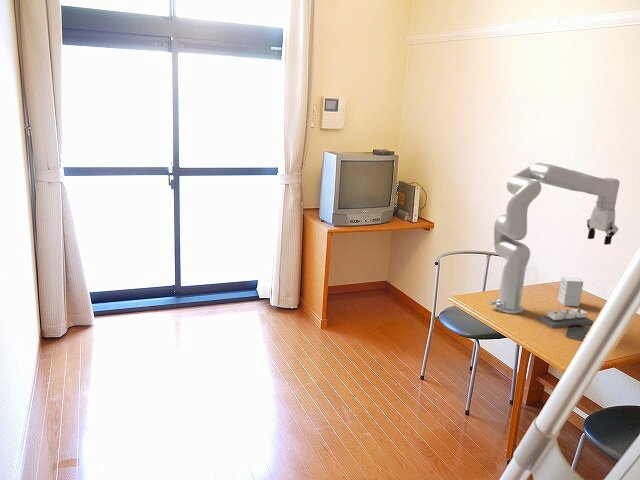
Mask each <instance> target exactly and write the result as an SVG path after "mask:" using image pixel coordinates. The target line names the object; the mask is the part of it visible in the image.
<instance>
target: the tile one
mask: <svg viewBox="0 0 640 480" xmlns="http://www.w3.org/2000/svg"><path fill="white" fill-rule="evenodd" d="M546 316H548V317H550V318H552V319H554V320H559V319H564V314H562V313H560V312H559V310H550V311H549V310H547V313H546Z"/></svg>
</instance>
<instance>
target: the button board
mask: <svg viewBox="0 0 640 480" xmlns="http://www.w3.org/2000/svg"><path fill="white" fill-rule="evenodd" d="M538 321H539V322H542V323H544V324H545V325H546V326H548V327H550V328H551V329H553V328H554V329H555V328H564V327H566V328H567V327H569V326H570V325H577V324H578V325H582V326H586V325H593V323H594V320H593V319H592V318H589V317H588V316H587V317H580V318H577V317H576V316H575V318H570V319H566V318H564V319H559V320H554V319H552V318H550V317H548V316H547V315H546V316H539V319H538Z"/></svg>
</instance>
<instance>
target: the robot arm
mask: <svg viewBox="0 0 640 480" xmlns="http://www.w3.org/2000/svg"><path fill="white" fill-rule="evenodd" d="M620 182H621V181H620V180H619V179H618V178H613V177H603V178H602V177H597V176H594V175H590V174H586V173H583V172H581V171H577V170H573V169H569V168H564V167H561V166H558V165H553V164H548V163H544V162H543V163H542V162H536V163H534V164H533V163H532V164H531V165H529V166H527V167H525V168H523V169H522V170H520V171H519V172H517V173H515V174H514V175H512V176H511V177H510V178H509V179H508V181H507V183H506V189H507V191H508V193H510V194H512V195H513V196H512V197H511V198H510V200H509V201H508V202H507V205H506V209H505V210H506V212H505V214H501V215H499V216H498V217H497V218H496V220H495V221H494V224H493V247H494V251H495V253H496V255H497V256H499V257H501V258H503V259H504V260H506V263H505V264H504V266H503V268H502V271H501V281H500V286H499V287H500V288H499V293H498V297H496V299H495V300H489V301H488V305H490V306H494V308H495V309H496V310H497V311H500V312H502V313H507V314H511V315H512V314H516V315H517V314H521V313H523V312H524V307H523V306H522V305H521V302H522V298H523V297H522V296H523V290H524V282H525V277H526V271H527V266H528V265H529V264H528V263H529V261H530V257H531V251H530V248H529V247H528V246H527V245H526V244H524V243H523V242H520V241H521V240H522V241H523V239H525V238H526V237H527V234H528V209H529V206H530V205H531V203H532V202H533V201H534V200H535V199H536V198H537V197H538V196H539V195H540V194H541V191H542V185H541V184H543V185H544V184H545V185H549V186H552V187H556V188H561V189H564V190H569V191H573V192H581V193H585V194H587V195H588V194H589V195H592V196H593V195H594V196H597V200H596V201H595V204H596V205H595V206H594V207H593V210H592V212H591V216H590V218H588V219H586V226H587V230H588V234H587V239H588V240H593V239H595V235H596V230H598V231H600V232H605V234H606V235H605V236H604V237H605V238H604V242H603V244H604V245H605V246H606V245H608V246H609V245H611V244H612V238H613V237H614V236H615V235H616V234H617V232H618V231H619V228H618V226H617V225H616V224H615V221H616V205H617V199H618V194H619V188H620V184H621V183H620Z"/></svg>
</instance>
